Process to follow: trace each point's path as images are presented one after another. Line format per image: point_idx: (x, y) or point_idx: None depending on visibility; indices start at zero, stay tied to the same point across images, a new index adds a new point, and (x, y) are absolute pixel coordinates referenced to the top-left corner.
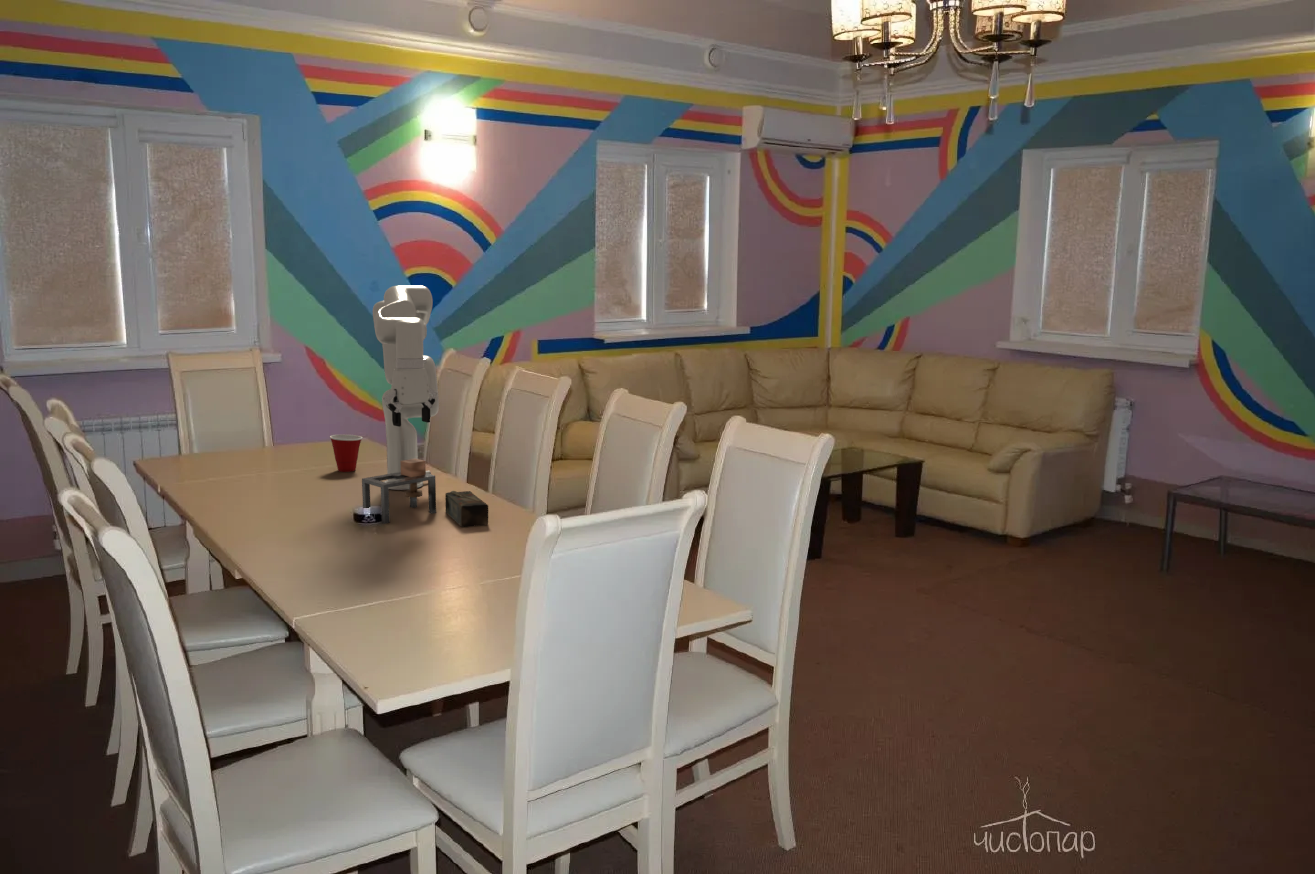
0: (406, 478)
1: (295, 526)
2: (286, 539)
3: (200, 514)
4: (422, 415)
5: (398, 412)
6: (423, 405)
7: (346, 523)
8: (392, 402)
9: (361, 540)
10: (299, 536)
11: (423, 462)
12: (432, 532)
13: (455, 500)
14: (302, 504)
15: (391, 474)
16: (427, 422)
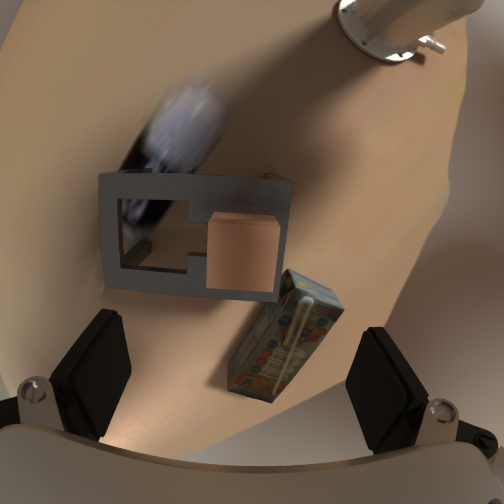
0: (191, 272)
1: (36, 150)
2: (8, 215)
3: (23, 10)
4: (377, 365)
5: (84, 432)
6: (415, 432)
7: (92, 193)
8: (12, 428)
9: (73, 303)
10: (21, 213)
11: (264, 289)
12: (174, 352)
13: (252, 356)
14: (129, 7)
15: (192, 188)
16: (350, 374)
